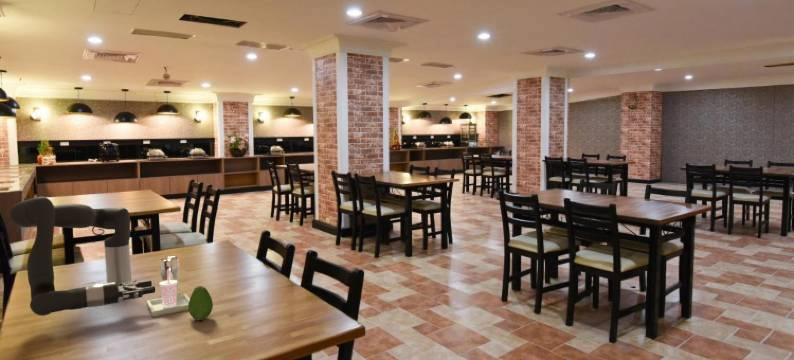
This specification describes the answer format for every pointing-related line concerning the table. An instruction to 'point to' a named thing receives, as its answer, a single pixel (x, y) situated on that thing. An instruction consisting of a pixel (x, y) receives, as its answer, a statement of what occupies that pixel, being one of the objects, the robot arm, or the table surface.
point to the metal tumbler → (170, 269)
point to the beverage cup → (168, 292)
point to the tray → (158, 309)
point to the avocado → (200, 303)
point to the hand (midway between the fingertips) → (153, 286)
